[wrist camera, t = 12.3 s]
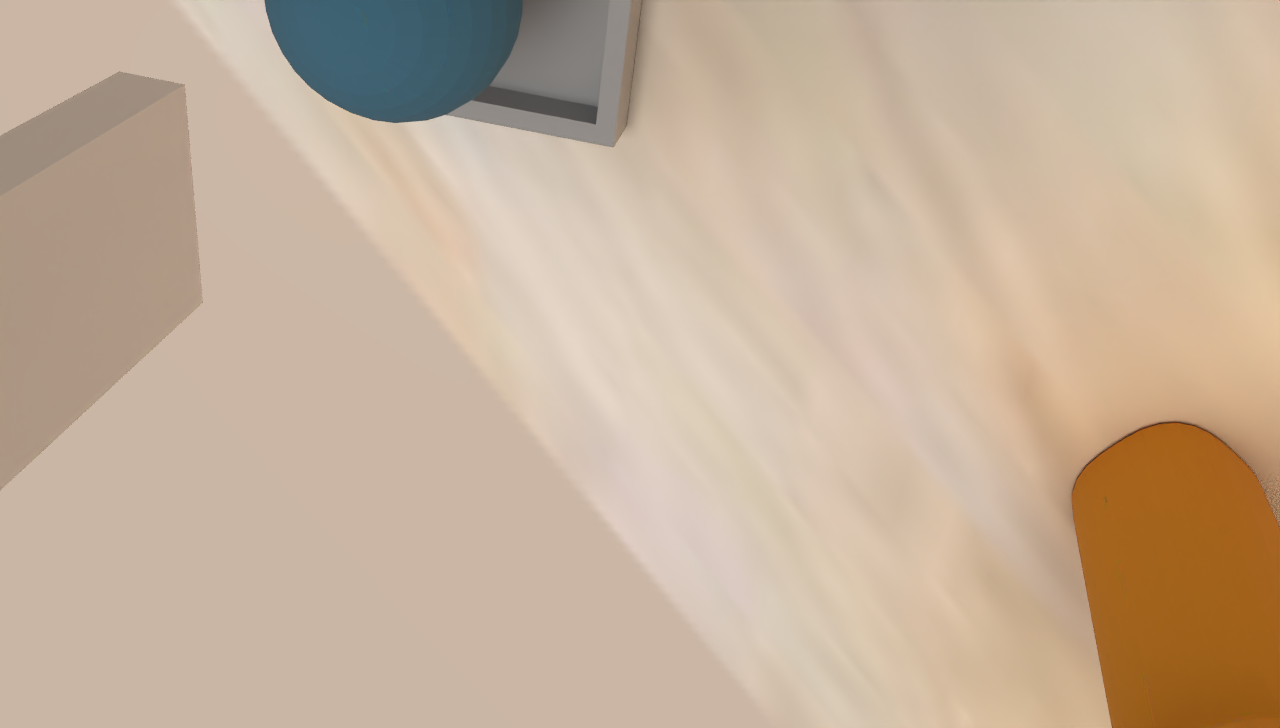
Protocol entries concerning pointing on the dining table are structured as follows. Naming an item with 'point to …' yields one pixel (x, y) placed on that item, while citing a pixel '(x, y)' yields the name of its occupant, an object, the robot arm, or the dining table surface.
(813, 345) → the dining table surface
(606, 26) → the parts tray
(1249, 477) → the flashlight
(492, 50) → the light bulb
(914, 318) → the dining table surface
